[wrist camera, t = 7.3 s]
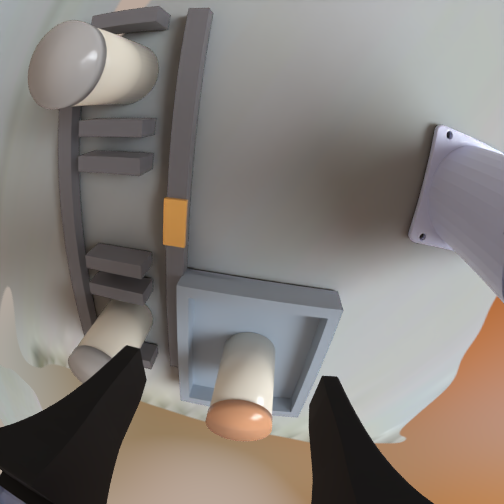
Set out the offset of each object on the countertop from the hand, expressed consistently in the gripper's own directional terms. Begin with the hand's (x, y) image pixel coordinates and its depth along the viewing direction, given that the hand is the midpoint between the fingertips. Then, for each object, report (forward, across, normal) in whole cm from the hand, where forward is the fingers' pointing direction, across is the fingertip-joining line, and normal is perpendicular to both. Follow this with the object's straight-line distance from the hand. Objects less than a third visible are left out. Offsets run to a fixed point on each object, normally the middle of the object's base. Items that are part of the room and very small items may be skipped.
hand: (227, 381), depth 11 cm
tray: (+10, -1, +8) cm, 12 cm away
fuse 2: (+10, +9, +6) cm, 15 cm away
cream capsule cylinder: (+10, +9, -12) cm, 18 cm away
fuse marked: (+9, -1, +7) cm, 12 cm away
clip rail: (+10, +9, -3) cm, 14 cm away
